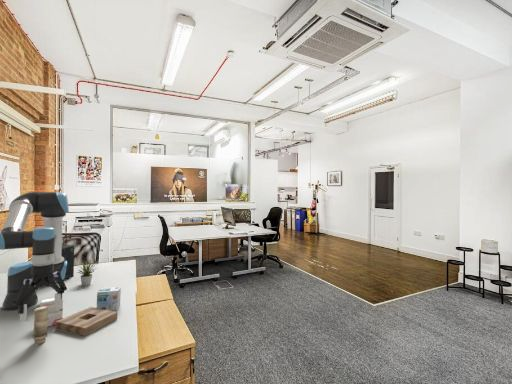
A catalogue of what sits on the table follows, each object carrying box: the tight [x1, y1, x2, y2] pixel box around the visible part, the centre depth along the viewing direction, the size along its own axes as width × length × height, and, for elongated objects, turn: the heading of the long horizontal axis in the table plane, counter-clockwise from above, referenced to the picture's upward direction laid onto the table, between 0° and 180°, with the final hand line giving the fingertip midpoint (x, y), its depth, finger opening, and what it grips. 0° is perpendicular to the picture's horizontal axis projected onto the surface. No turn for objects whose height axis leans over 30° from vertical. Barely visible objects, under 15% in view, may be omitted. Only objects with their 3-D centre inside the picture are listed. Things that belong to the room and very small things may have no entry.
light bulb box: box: [96, 286, 122, 312], centre depth 149 cm, size 11×7×11 cm, turn 105°
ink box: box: [40, 296, 64, 327], centre depth 130 cm, size 9×5×12 cm, turn 125°
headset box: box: [46, 244, 75, 287], centre depth 195 cm, size 22×12×26 cm, turn 179°
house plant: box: [76, 261, 98, 286], centre depth 189 cm, size 14×14×16 cm
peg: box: [33, 306, 48, 345], centre depth 114 cm, size 4×4×14 cm
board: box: [55, 306, 118, 337], centre depth 131 cm, size 18×18×4 cm
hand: (41, 314), depth 114 cm, fingers open, 13 cm apart
